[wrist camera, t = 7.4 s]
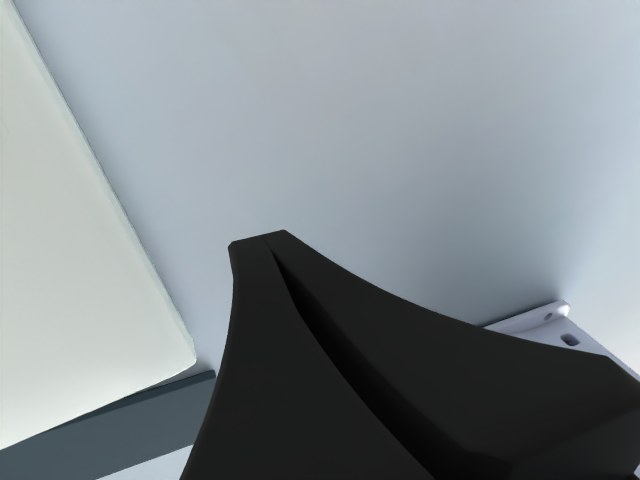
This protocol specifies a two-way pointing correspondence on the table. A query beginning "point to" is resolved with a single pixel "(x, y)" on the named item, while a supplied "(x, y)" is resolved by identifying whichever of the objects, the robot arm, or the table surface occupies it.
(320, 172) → the table surface
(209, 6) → the table surface
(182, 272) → the table surface
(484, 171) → the table surface
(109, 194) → the hard drive
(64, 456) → the grey rectangular frame
